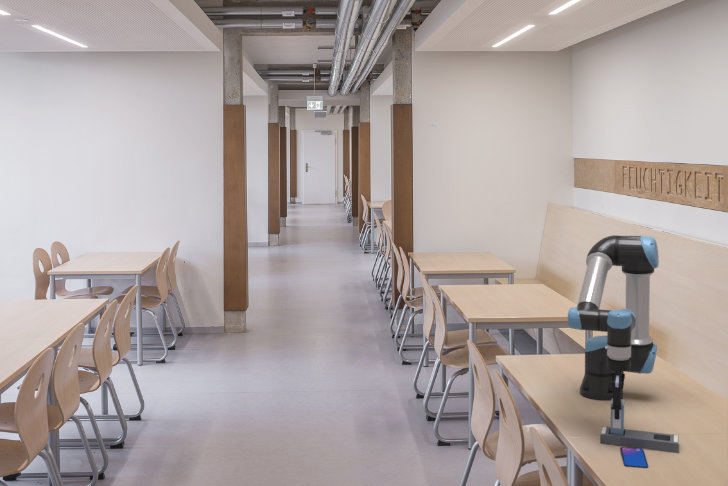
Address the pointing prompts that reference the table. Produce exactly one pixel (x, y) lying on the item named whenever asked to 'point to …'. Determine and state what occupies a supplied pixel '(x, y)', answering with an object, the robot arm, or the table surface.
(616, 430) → the plug
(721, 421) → the table surface
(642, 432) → the panel
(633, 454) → the smartphone
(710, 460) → the table surface
